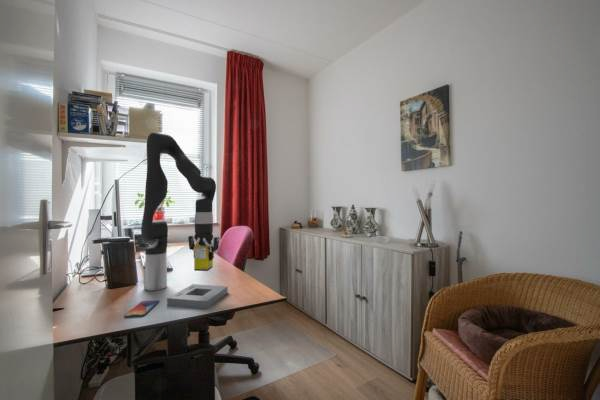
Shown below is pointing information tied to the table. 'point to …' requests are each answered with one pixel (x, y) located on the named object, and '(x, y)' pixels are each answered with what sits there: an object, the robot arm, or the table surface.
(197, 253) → the supplement box
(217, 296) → the socket plate
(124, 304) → the table surface
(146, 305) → the smartphone
